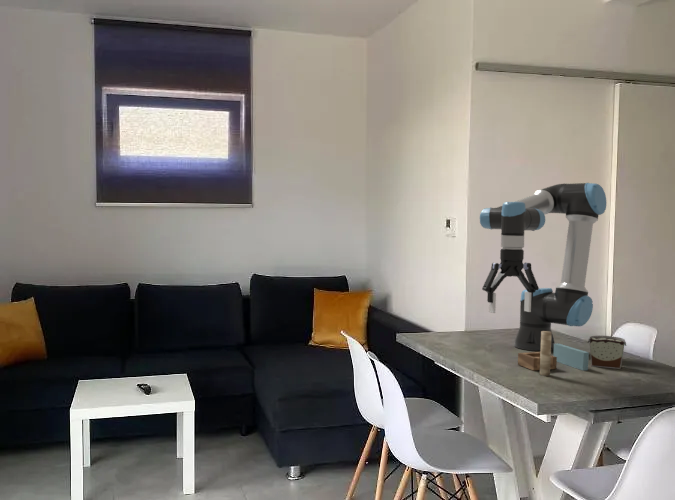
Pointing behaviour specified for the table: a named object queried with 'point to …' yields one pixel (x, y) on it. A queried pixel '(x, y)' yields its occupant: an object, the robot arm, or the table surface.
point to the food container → (606, 351)
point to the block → (534, 360)
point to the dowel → (545, 353)
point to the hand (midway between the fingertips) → (509, 312)
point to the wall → (571, 356)
